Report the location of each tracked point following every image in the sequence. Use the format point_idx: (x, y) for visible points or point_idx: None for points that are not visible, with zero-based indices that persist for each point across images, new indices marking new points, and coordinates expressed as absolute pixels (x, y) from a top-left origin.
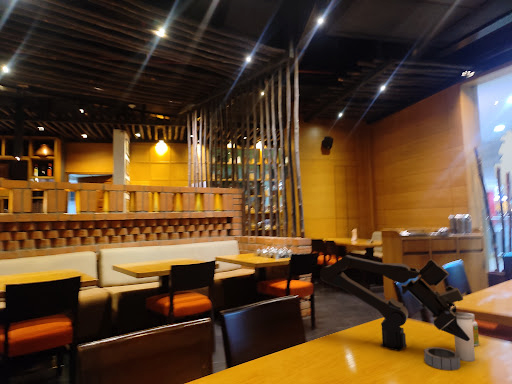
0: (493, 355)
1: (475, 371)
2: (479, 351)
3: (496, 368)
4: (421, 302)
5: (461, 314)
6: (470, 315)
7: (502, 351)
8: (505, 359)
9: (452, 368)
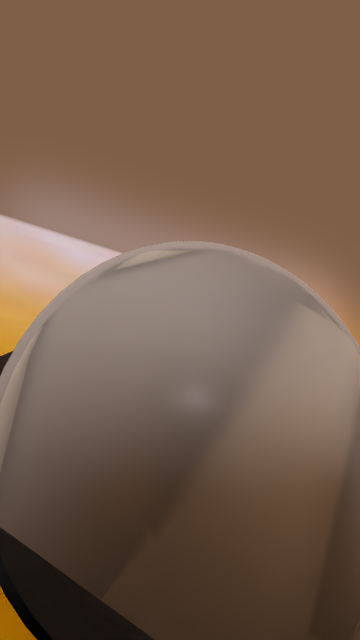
0: (71, 280)
1: None
2: (27, 322)
3: None
4: None
5: (239, 439)
6: (239, 273)
7: (5, 232)
8: (107, 254)
9: None
